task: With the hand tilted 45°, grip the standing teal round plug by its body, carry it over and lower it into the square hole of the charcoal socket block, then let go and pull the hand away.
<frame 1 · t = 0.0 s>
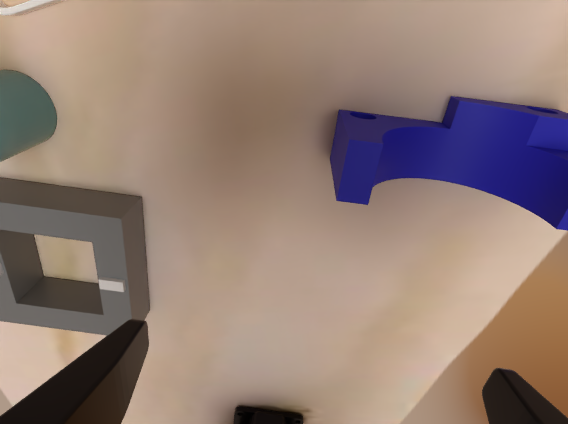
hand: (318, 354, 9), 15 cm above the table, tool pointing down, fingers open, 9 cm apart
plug: (20, 108, 22), on the table
socket: (77, 249, 26), on the table
cable clip: (436, 133, 21), on the table
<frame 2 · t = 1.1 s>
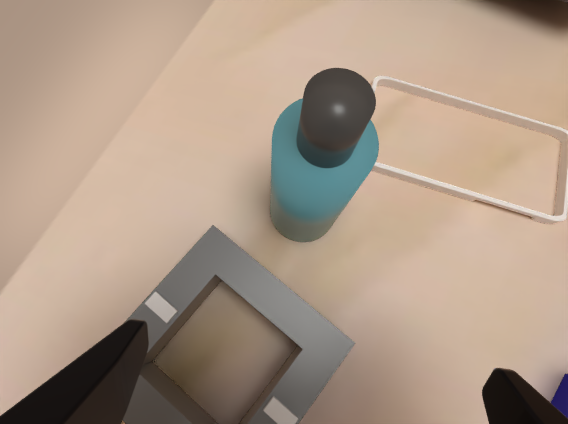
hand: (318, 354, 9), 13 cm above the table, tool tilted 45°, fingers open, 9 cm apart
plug: (302, 210, 24), on the table
phone case: (455, 153, 27), on the table
socket: (226, 353, 22), on the table
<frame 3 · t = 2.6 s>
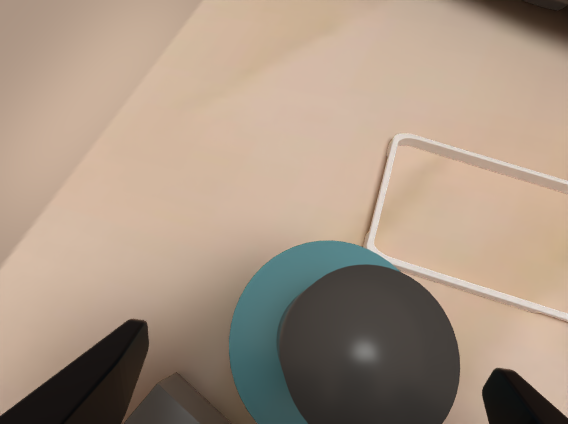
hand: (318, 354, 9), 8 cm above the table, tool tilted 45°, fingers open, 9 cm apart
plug: (295, 329, 17), on the table
phone case: (503, 238, 20), on the table
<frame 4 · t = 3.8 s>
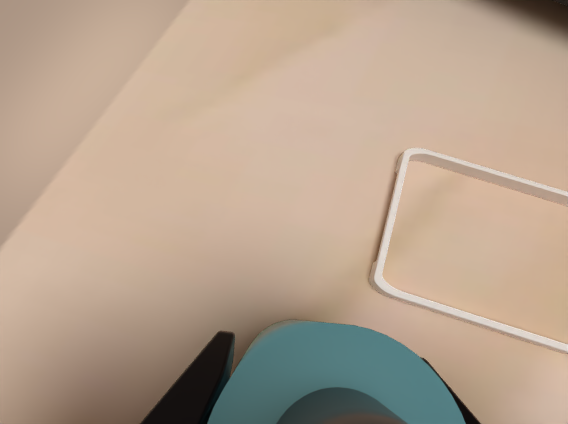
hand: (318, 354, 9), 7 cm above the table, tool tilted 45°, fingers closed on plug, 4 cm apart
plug: (293, 374, 15), on the table, touching gripper
phone case: (526, 265, 18), on the table
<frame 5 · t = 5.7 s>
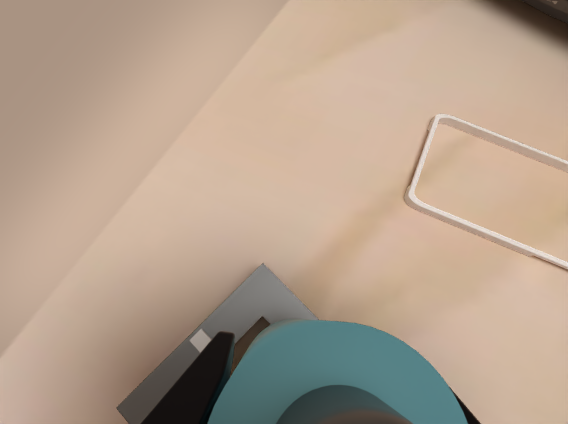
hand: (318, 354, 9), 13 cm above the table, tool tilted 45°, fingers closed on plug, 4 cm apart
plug: (294, 373, 15), point 7 cm above the table, touching gripper
phone case: (512, 202, 26), on the table
socket: (262, 392, 21), on the table
when the fingers open (8 cm above the table, at t = 7.6 s): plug drops 1 cm, resting in socket.
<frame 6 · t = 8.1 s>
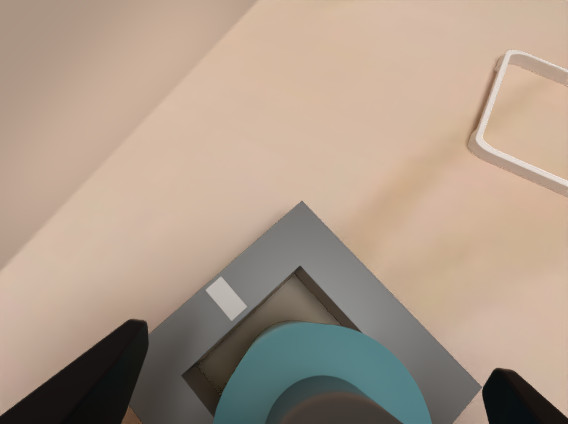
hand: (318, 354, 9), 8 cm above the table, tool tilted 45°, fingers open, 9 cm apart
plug: (291, 370, 17), resting in socket
socket: (291, 369, 17), on the table
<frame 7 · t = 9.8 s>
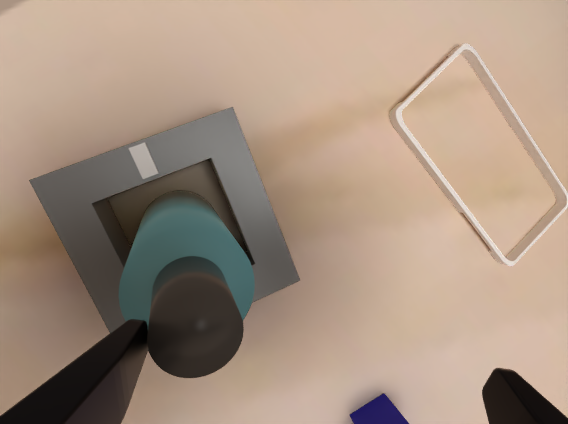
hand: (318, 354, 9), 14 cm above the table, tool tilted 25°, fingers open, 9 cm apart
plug: (180, 227, 21), resting in socket
phone case: (474, 161, 27), on the table
socket: (180, 225, 22), on the table
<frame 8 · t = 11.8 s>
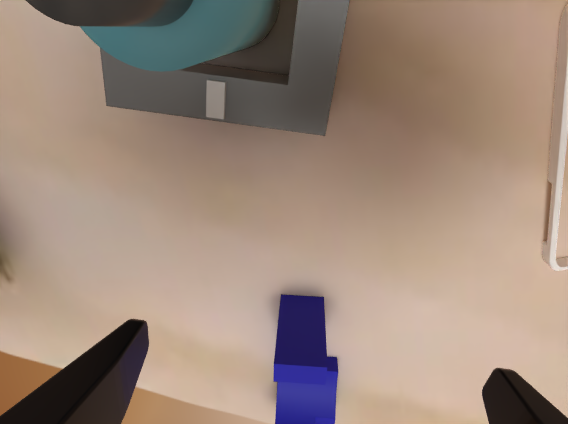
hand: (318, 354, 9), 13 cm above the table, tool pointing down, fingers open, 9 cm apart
cable clip: (308, 351, 28), on the table
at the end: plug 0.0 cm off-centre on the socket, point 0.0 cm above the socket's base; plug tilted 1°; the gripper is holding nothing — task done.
